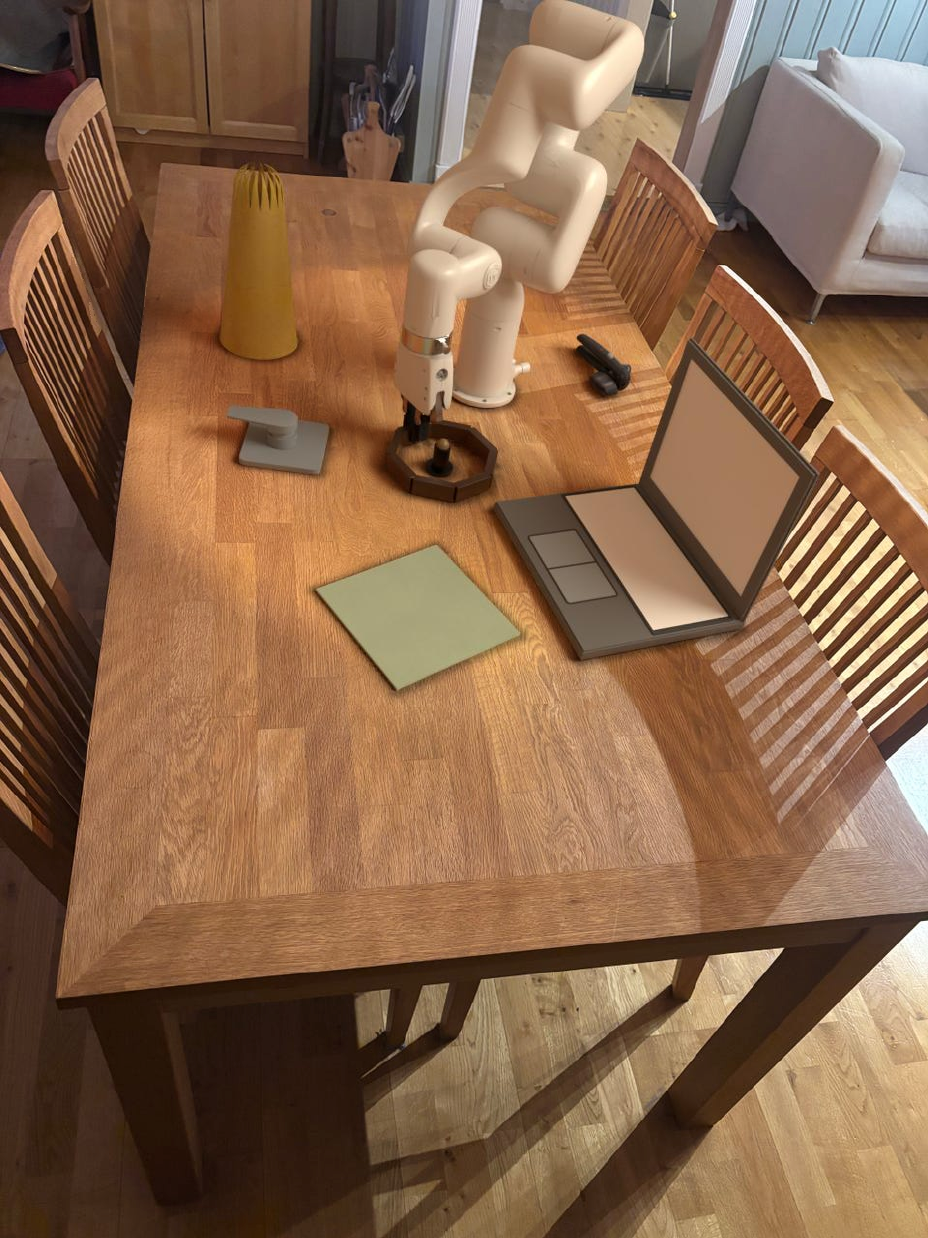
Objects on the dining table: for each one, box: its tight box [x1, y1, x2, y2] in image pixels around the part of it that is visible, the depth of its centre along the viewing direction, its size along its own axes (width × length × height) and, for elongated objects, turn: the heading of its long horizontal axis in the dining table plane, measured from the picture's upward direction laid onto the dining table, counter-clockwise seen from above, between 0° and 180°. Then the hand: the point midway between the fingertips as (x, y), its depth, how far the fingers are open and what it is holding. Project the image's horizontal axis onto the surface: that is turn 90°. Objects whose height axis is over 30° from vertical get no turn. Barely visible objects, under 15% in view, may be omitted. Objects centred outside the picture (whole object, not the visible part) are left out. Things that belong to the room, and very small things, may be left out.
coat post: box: [425, 438, 454, 478], centre depth 152 cm, size 4×4×6 cm
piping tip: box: [219, 162, 299, 361], centre depth 162 cm, size 14×14×30 cm
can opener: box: [575, 333, 632, 397], centre depth 179 cm, size 18×7×6 cm, turn 20°
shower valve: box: [226, 405, 330, 476], centre depth 150 cm, size 12×6×15 cm
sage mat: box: [315, 544, 521, 691], centre depth 131 cm, size 20×20×1 cm
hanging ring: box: [385, 419, 499, 503], centre depth 153 cm, size 17×17×3 cm
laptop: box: [492, 337, 821, 661], centre depth 133 cm, size 32×26×28 cm
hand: (414, 436), depth 158 cm, fingers closed on hanging ring, 1 cm apart
